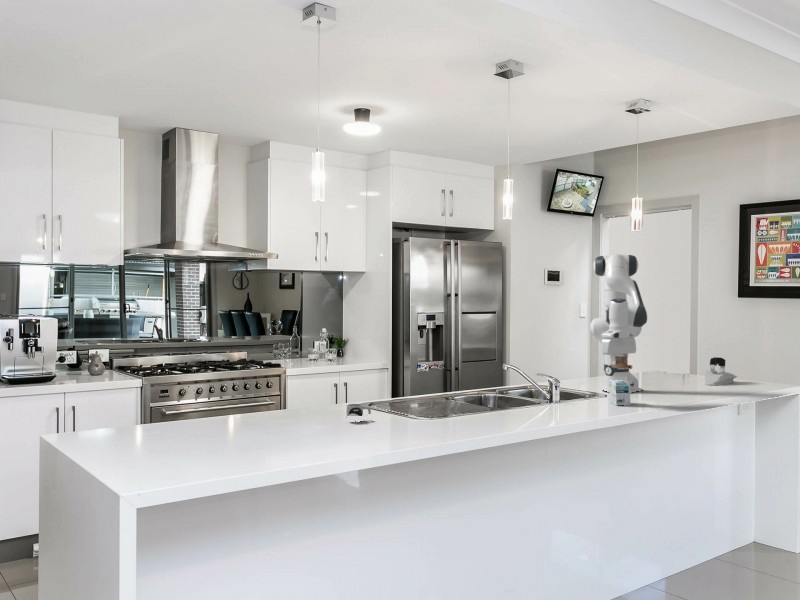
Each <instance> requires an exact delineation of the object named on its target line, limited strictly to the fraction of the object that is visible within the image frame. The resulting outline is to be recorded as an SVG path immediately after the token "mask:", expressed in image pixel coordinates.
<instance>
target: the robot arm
mask: <svg viewBox="0 0 800 600" xmlns="http://www.w3.org/2000/svg"><path fill="white" fill-rule="evenodd" d="M592 269H593V271H594V272H595V273H594V274H595V275H596V276H598V277H599V276H600V277H605V278H604V292H603V294H604V295H603V296H604V297H603V299H604V305H605V307H606V310H605V314H606V316H601V317H596V318H595V317H594V318H593V319H592V320H591V321H590V324H589V330H590V333H591V335H592V336H593V337H595V338H596V339H597V340H598V341H599V342H600V344H601V346H600V347H601V353H602V355H604V365H603V371H604V374H603V375H602V377H603V378H602V387H601V388H602V390H604V391H607V392H606V393H610V381H609V380H624V381H626V382H630V394H632V393H631V392H634V393H637V392H636V391H639V392H642V391H641V390H643V391H644V388H642V387H639V380H638V378H637V377H636V376H635V375H633V374H632V372H631V371H630V370H632V369H633V364H628V368H612V364H614V365H615V364H617V360H616V358H615V357H616V356H624V357H627V358H628V357H629V354H636V352H637V343H636V337H638V336H639V335H640V334H641V332H642V328H643V327H644V325H646V324H647V322H648V313H647V310H646V307H645V304H644V302H643V298H642V294H641V292H640V288H639V286H638V283H637V281H636V280H635V279H633V278H631V277H633V276H634V275H635V274H636V273H637V272H638V269H639V261H638V259H637V257H636V256H635V255H633V254H627V255H626V254H619V253H614V254H611V255H604V256H603V255H600V256H597V257H596V258H595V259H594V261H593V264H592ZM627 295H628V296H630V298H631V300H632V304H633V305H629V303H628V300H627V299H628V298H627ZM611 359H612V361H611ZM602 390H601V391H602ZM604 391H603V392H604Z"/></svg>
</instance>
